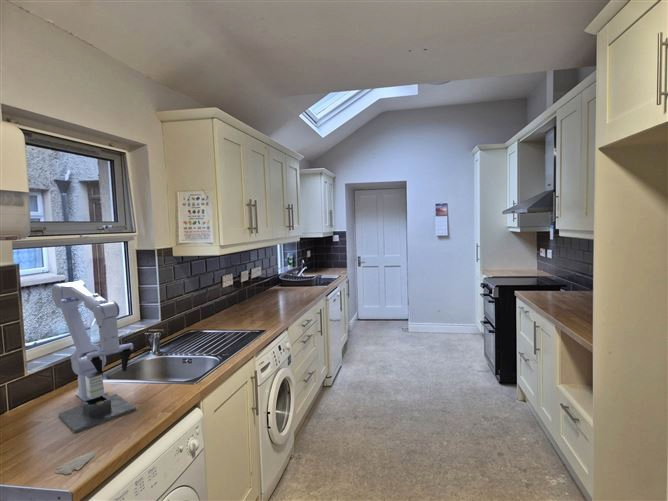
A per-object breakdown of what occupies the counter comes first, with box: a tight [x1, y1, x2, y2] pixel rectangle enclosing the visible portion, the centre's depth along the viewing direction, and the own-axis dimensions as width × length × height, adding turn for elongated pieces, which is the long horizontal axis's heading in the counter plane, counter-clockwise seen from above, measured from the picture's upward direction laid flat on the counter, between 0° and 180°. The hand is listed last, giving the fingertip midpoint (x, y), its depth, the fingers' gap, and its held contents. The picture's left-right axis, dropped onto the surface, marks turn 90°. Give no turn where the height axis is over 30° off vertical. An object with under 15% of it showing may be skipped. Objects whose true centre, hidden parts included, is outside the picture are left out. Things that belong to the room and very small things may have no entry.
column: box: [85, 372, 105, 399], centre depth 132 cm, size 4×4×7 cm
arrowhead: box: [54, 451, 97, 476], centre depth 105 cm, size 7×2×10 cm
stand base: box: [58, 394, 137, 434], centre depth 133 cm, size 18×18×5 cm
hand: (112, 374), depth 140 cm, fingers open, 7 cm apart
